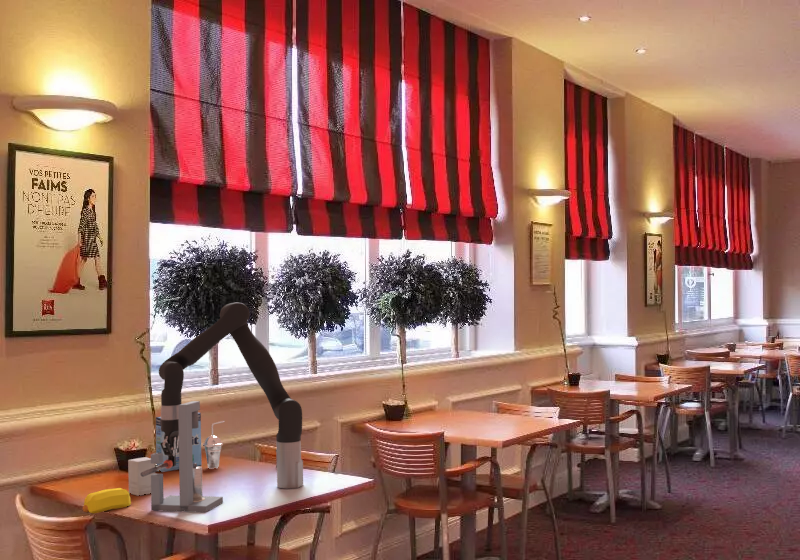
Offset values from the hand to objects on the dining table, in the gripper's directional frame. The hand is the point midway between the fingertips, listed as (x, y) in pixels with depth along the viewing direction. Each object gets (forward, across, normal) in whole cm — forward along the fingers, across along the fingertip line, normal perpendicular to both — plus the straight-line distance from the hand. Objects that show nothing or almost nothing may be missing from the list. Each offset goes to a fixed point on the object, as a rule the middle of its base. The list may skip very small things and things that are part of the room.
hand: (172, 466), depth 306 cm
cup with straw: (+13, +61, +11) cm, 63 cm away
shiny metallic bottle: (+10, -4, -11) cm, 16 cm away
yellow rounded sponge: (+13, -13, +18) cm, 26 cm away
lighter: (+13, +67, -19) cm, 71 cm away
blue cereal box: (+13, +59, +26) cm, 66 cm away
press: (+13, -6, -9) cm, 16 cm away
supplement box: (+13, +12, +18) cm, 25 cm away
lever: (0, -12, 0) cm, 12 cm away
